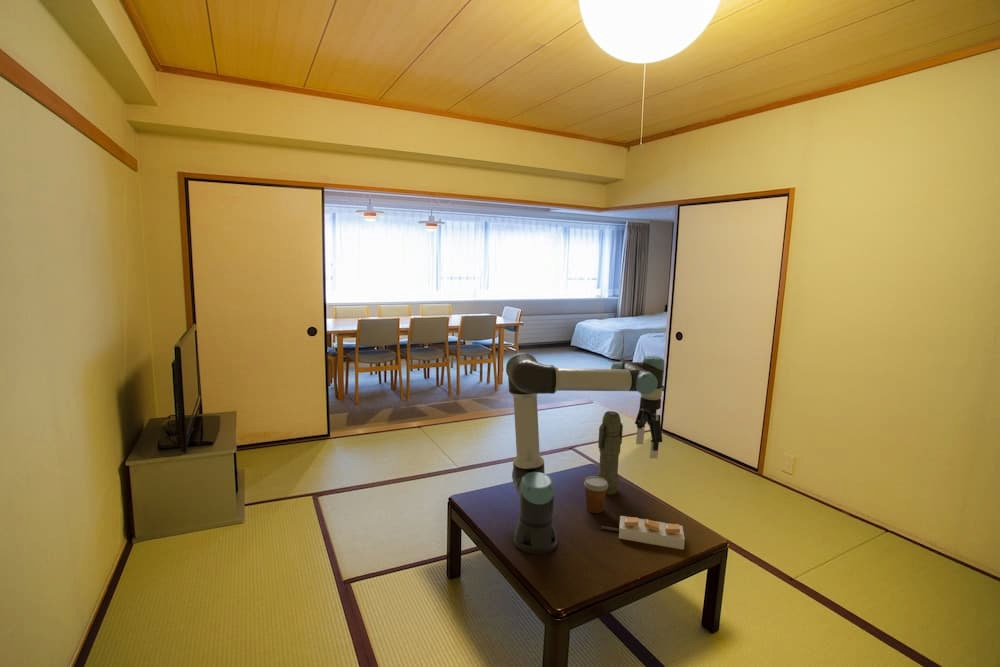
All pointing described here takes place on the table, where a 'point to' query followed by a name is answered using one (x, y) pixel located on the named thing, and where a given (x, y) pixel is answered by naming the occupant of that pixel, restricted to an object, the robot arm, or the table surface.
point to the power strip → (650, 534)
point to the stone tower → (610, 449)
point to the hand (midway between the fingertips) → (646, 450)
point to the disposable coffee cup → (595, 493)
